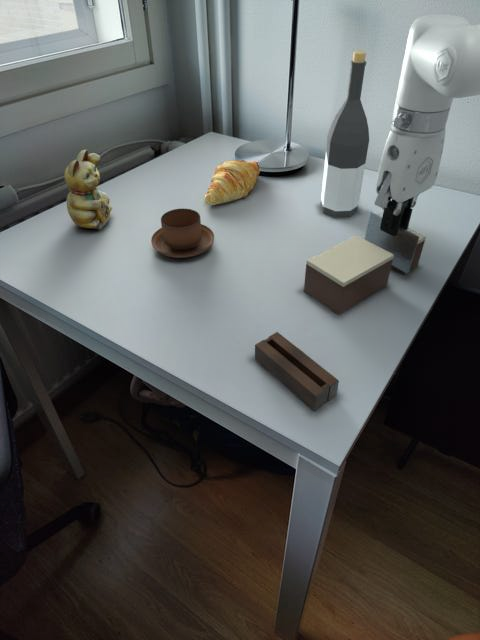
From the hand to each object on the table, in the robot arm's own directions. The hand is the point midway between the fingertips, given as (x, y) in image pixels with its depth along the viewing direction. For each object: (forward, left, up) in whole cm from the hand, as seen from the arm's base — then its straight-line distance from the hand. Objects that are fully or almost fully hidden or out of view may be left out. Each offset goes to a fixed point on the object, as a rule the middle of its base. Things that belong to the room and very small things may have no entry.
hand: (393, 229), depth 79 cm
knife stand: (-9, +31, -8) cm, 33 cm away
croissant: (+42, +3, -8) cm, 43 cm away
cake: (0, +11, -8) cm, 13 cm away
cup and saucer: (+29, +25, -8) cm, 39 cm away
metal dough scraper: (0, 0, -7) cm, 7 cm away
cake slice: (0, -2, -8) cm, 8 cm away
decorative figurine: (+49, +35, -8) cm, 60 cm away
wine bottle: (+20, -9, -8) cm, 23 cm away
